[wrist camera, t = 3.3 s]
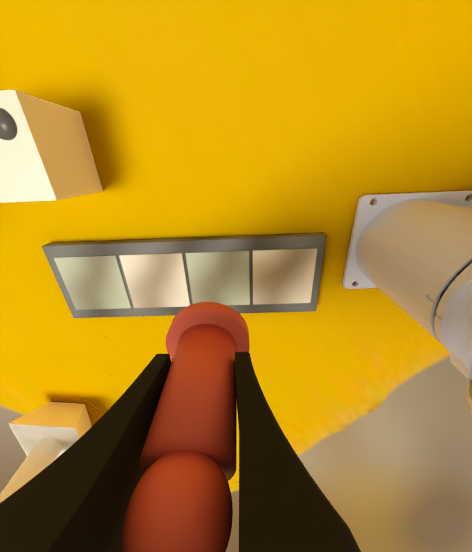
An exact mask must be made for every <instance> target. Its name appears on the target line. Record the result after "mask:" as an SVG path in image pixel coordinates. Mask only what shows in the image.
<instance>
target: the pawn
mask: <svg viewBox="0 0 472 552" xmlns="http://www.w3.org/2000/svg"><path fill="white" fill-rule="evenodd" d="M166 348H167V351H168V354H169V355H170V357H171V359H172V363H171V366H170V369H169V372H168V375H167V378H166V381H165V384H164V387H163V390H162V393H161V396H160V399H159V402H158V405H157V408H156V411H155V414H154V417H153V420H152V423H151V426H150V429H149V432H148V435H147V438H146V441H145V444H144V447H143V450H142V453H141V456H140V460H139V463H140V467H141V469H142V471H143V472H144V475H143V476H142V477H141V479H140V481H139V482H138V484H137V486H136V488H135V490H134V492H133V494H132V496H131V499H130V501H129V504H128V508H127V511H126V515H125V521H124V527H123V552H225V551H226V548H227V546H228V541H229V538H230V533H231V527H232V513H233V512H232V498H231V492H230V488H229V484H228V480H230V479H231V478H232V477H233V475H234V474H235V471H236V394H237V393H236V380H235V352H249V332H248V327H247V324H246V322H245V320H244V319H243V317H242V316H241V315H240V314H239V313H238V312H237V311H235V310H234V309H232V308H230V307H228V306H226V305H223V304H220V303H215V302H199V303H195V304H192V305H189V306H187V307H185V308H184V309H182V310H181V311H180V312H179V313H178V314H177V315H176V316H175V318H174V319H173V321H172V324H171V326H170V329H169V331H168V334H167V337H166Z"/></svg>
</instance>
